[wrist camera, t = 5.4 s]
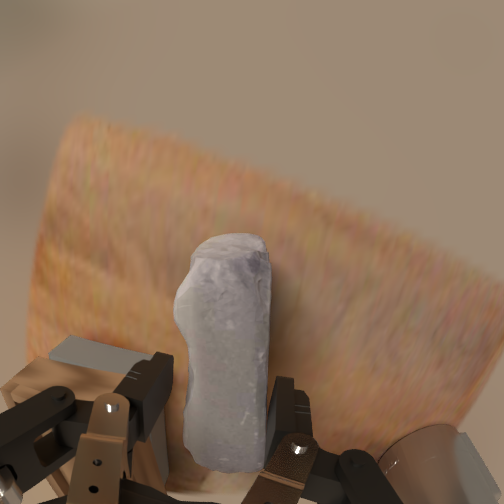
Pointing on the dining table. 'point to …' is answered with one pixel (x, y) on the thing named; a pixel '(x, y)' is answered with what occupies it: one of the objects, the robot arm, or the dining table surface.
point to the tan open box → (85, 388)
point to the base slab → (117, 362)
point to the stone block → (226, 351)
